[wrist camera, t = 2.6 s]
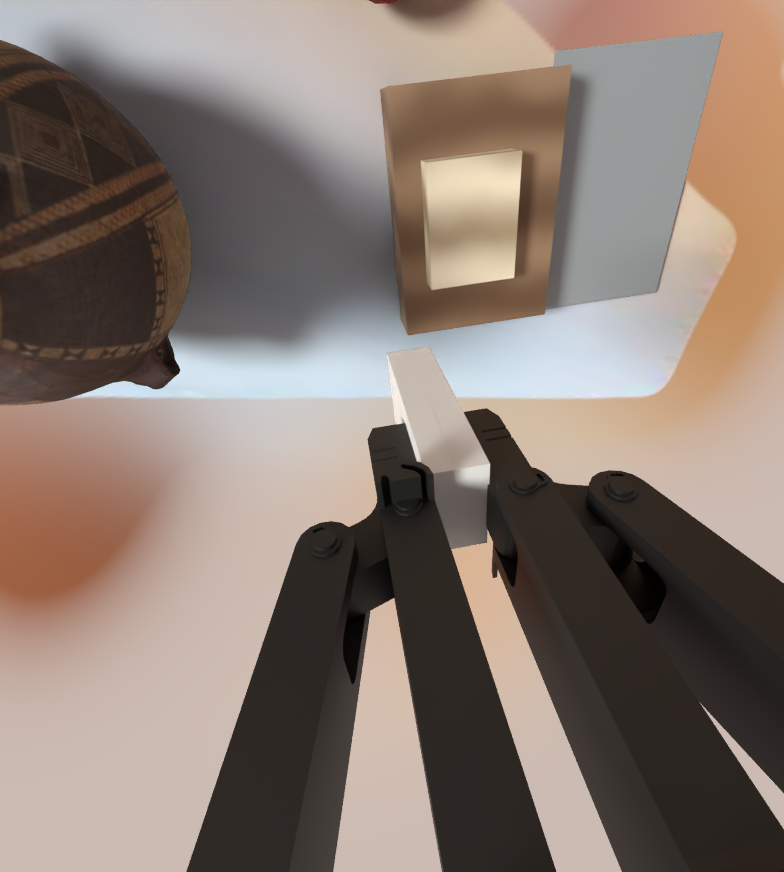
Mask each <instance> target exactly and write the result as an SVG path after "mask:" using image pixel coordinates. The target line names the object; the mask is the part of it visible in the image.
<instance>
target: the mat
mask: <svg viewBox="0 0 784 872" xmlns="http://www.w3.org/2000/svg"><path fill="white" fill-rule="evenodd" d="M722 34H723V32H715V33H706V34H698V35H689V36H680V37H672V38H664V39H656V40H646V41H638V42H630V43H621V44H612V45H604V46H595V47H588V48H578V49H570V50H561V51H556V52H555V60H554V67H556V66H564V65H572V70H571V79H570V88H569V97H568V106H567V115H566V124H565V134H564V143H563V152H562V161H561V170H560V179H559V188H558V197H557V206H556V215H555V224H554V233H553V242H552V251H551V260H550V269H549V278H548V287H547V296H546V305H545V309H550V308H557V307H563V306H570V305H576V304H583V303H589V302H596V301H603V300H609V299H616V298H622V297H629V296H635V295H642V294H648V293H655V292H656V290H657V286H658V283H659V279H660V275H661V271H662V267H663V263H664V259H665V255H666V252H667V248H668V244H669V240H670V236H671V232H672V228H673V224H674V220H675V217H676V213H677V209H678V205H679V201H680V197H681V193H682V189H683V186H684V182H685V178H686V174H687V170H688V166H689V162H690V158H691V154H692V150H693V147H694V143H695V139H696V135H697V131H698V127H699V123H700V120H701V116H702V111H703V108H704V104H705V100H706V96H707V92H708V88H709V85H710V80H711V77H712V73H713V69H714V65H715V61H716V57H717V53H718V50H719V46H720V42H721V38H722Z"/></svg>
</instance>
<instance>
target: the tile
mask: <svg viewBox="0 0 784 872" xmlns="http://www.w3.org/2000/svg"><path fill="white" fill-rule="evenodd" d="M521 165H522V150H518V149H505V150H498V151H490V152H482V153H475V154H467V155H459V156H452V157H444V158H436V159H428V160H421V178H422V198H423V217H424V237H425V256H426V276H427V284H428V285H429V287H430V288H431V289H432V290H436V289H442V288H449V287H456V286H463V285H469V284H476V283H483V282H490V281H496V280H503V279H510V278H514V273H515V257H516V242H517V227H518V211H519V196H520V180H521Z"/></svg>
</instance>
